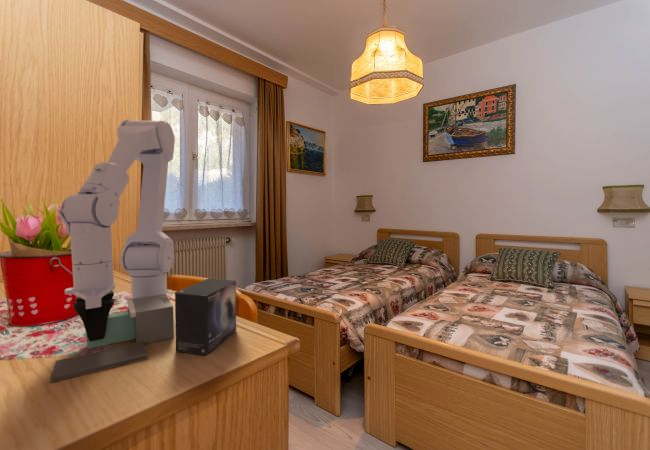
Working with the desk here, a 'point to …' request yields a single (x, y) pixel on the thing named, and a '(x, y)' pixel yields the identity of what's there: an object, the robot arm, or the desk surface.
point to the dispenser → (152, 318)
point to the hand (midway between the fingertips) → (97, 336)
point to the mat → (97, 361)
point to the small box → (205, 315)
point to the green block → (116, 329)
